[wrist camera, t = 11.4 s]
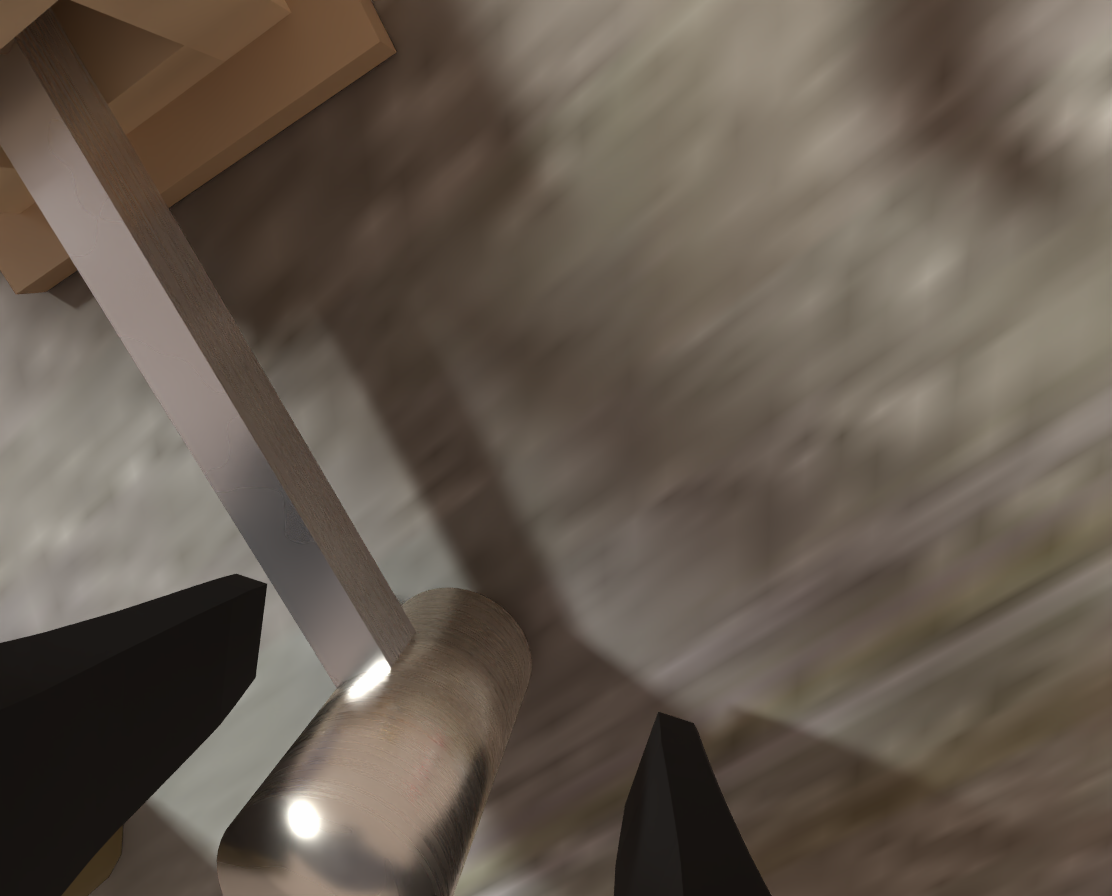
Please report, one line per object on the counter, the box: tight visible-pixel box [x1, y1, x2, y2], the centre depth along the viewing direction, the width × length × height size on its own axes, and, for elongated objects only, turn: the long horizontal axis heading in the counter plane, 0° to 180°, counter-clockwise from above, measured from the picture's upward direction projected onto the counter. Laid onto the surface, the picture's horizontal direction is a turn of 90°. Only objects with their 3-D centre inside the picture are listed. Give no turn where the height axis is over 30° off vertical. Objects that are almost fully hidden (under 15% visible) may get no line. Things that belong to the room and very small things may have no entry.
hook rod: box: [0, 7, 532, 896], centre depth 9 cm, size 14×3×5 cm, turn 27°
